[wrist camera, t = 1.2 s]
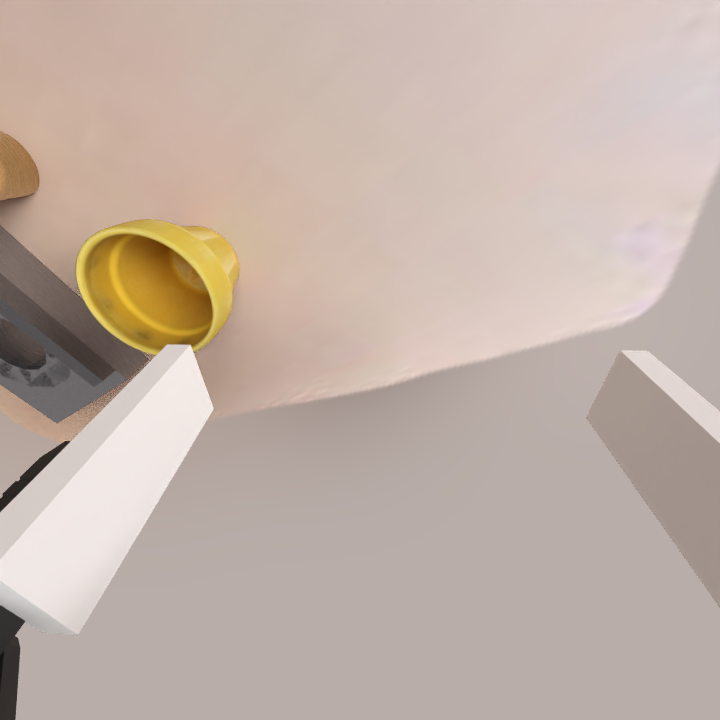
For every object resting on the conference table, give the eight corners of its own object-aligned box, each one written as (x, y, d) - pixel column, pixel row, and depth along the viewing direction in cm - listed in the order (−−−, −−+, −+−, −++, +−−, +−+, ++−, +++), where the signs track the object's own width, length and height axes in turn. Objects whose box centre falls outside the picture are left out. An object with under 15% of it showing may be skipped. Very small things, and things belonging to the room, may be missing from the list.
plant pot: (164, 178, 29) (79, 194, 21) (274, 242, 31) (236, 279, 23) (142, 276, 34) (67, 319, 26) (238, 324, 37) (196, 378, 29)
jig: (-66, 292, 37) (-137, 316, 32) (-4, 222, 32) (-75, 238, 27) (81, 402, 45) (43, 435, 40) (148, 359, 40) (115, 391, 35)
